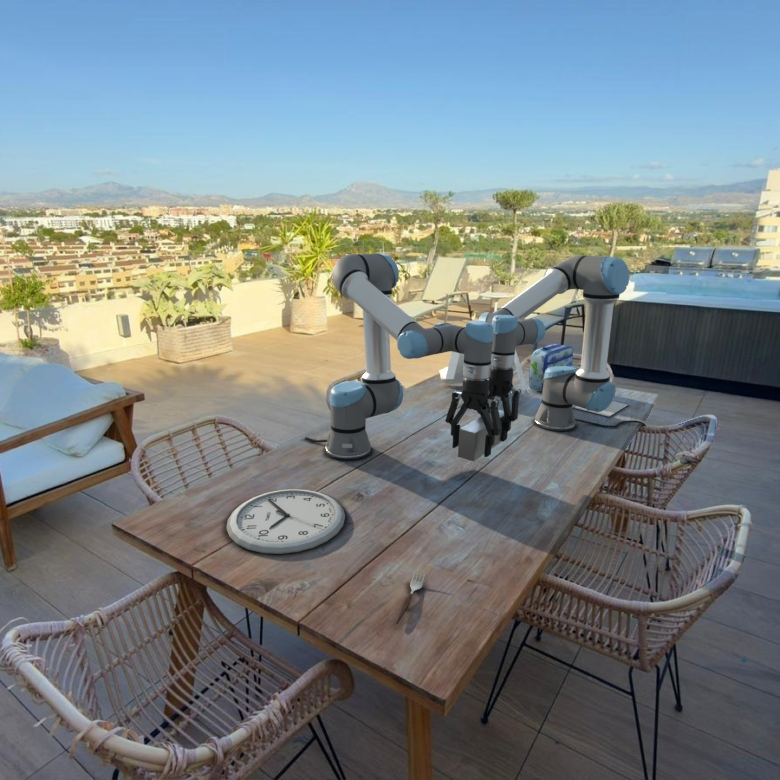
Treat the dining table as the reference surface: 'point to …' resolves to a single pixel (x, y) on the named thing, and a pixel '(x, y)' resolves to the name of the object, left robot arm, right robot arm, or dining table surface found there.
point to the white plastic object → (456, 365)
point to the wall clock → (285, 521)
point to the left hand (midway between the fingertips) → (471, 450)
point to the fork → (414, 586)
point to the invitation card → (608, 409)
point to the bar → (476, 438)
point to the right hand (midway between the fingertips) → (495, 437)
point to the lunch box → (548, 362)
